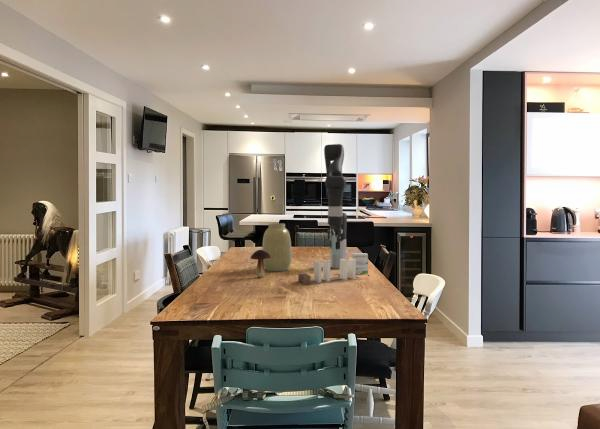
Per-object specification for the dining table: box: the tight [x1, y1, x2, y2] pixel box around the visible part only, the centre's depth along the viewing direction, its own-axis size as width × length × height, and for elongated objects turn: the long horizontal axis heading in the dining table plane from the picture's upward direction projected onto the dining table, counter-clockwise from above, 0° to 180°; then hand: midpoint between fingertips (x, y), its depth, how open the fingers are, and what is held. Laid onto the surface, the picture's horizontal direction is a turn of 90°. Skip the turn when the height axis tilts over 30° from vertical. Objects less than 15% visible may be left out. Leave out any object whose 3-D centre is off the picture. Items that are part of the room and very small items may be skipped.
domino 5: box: [347, 257, 357, 279], centre depth 232 cm, size 5×2×10 cm, turn 25°
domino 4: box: [339, 259, 348, 280], centre depth 230 cm, size 5×2×10 cm, turn 25°
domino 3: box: [330, 235, 339, 255], centre depth 227 cm, size 5×2×10 cm, turn 25°
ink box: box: [351, 252, 369, 275], centre depth 247 cm, size 9×5×12 cm, turn 84°
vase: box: [261, 222, 292, 272], centre depth 262 cm, size 17×17×27 cm
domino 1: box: [313, 260, 322, 282], centre depth 224 cm, size 5×2×10 cm, turn 25°
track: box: [293, 272, 363, 286], centre depth 227 cm, size 10×35×5 cm, turn 115°
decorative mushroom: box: [250, 249, 271, 279], centre depth 238 cm, size 11×11×15 cm
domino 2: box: [322, 259, 331, 282], centre depth 226 cm, size 5×2×10 cm, turn 25°
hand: (335, 248), depth 227 cm, fingers closed on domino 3, 5 cm apart
